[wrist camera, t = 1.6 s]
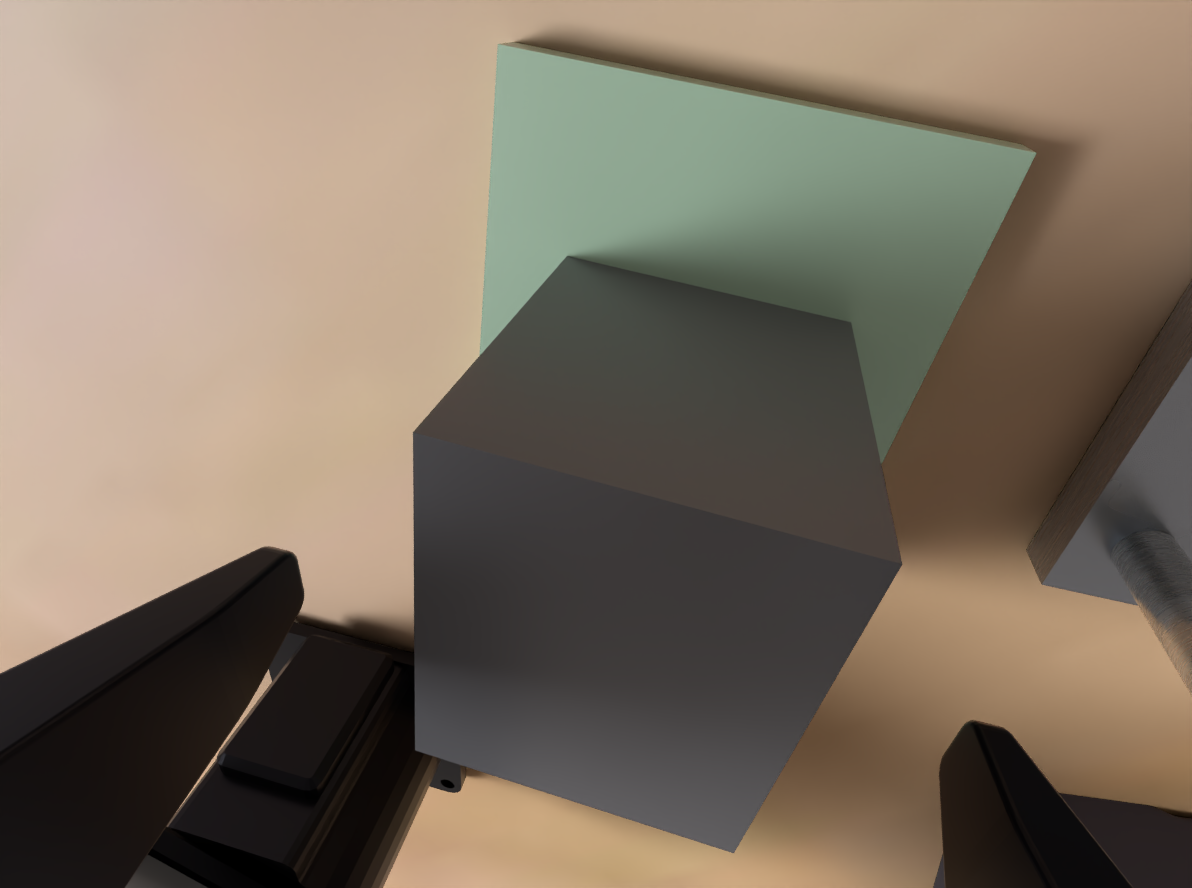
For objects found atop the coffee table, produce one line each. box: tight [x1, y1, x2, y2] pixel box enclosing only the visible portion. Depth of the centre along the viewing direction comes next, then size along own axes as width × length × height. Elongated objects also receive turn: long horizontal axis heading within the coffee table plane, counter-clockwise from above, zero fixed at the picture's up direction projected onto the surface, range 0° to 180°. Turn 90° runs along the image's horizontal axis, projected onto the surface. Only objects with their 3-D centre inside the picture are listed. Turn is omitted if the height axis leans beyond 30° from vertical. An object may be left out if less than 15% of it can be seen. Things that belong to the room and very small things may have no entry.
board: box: [413, 42, 1036, 853], centre depth 11 cm, size 12×8×7 cm, turn 171°
